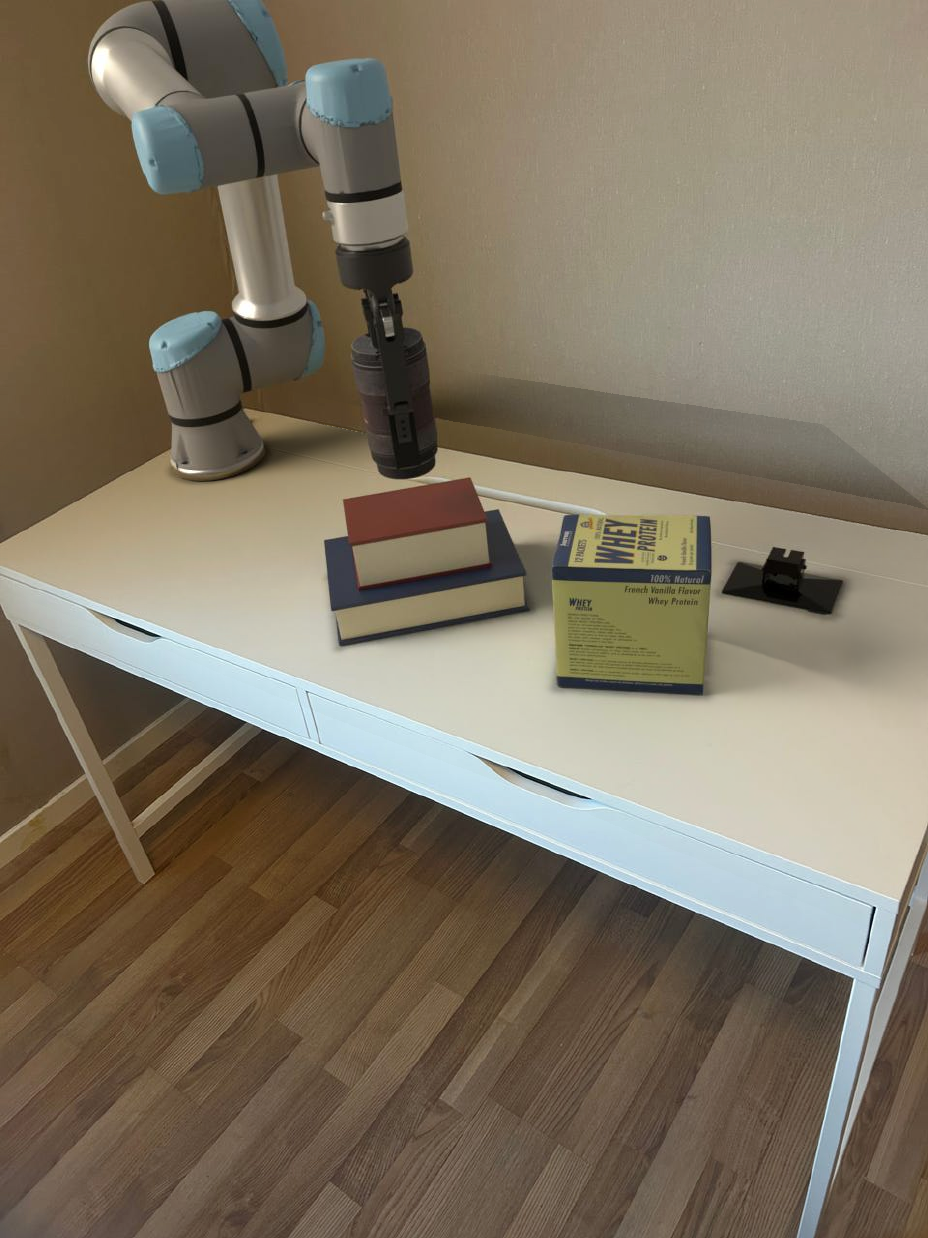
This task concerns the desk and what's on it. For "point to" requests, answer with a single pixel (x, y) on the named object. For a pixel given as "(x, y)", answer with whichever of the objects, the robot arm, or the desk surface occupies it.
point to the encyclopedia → (425, 592)
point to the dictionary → (417, 533)
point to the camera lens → (376, 401)
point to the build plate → (784, 583)
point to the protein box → (632, 602)
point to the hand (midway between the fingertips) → (403, 449)
